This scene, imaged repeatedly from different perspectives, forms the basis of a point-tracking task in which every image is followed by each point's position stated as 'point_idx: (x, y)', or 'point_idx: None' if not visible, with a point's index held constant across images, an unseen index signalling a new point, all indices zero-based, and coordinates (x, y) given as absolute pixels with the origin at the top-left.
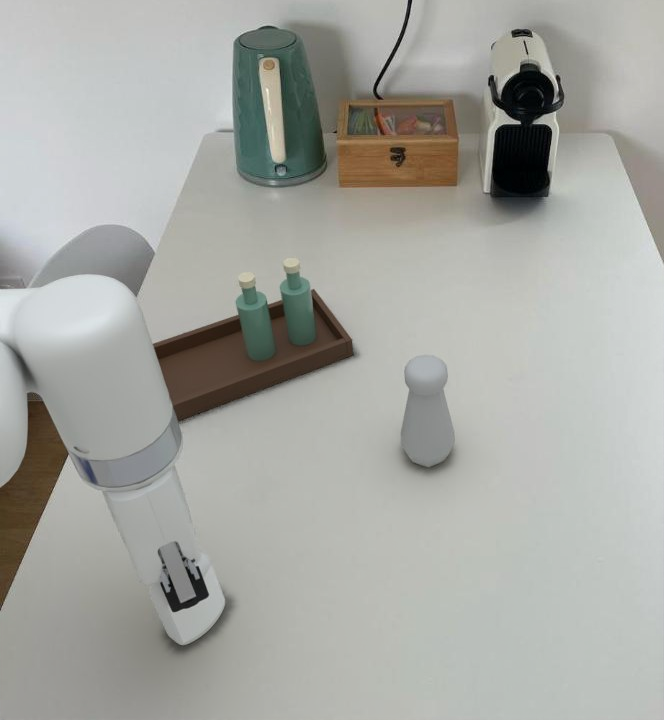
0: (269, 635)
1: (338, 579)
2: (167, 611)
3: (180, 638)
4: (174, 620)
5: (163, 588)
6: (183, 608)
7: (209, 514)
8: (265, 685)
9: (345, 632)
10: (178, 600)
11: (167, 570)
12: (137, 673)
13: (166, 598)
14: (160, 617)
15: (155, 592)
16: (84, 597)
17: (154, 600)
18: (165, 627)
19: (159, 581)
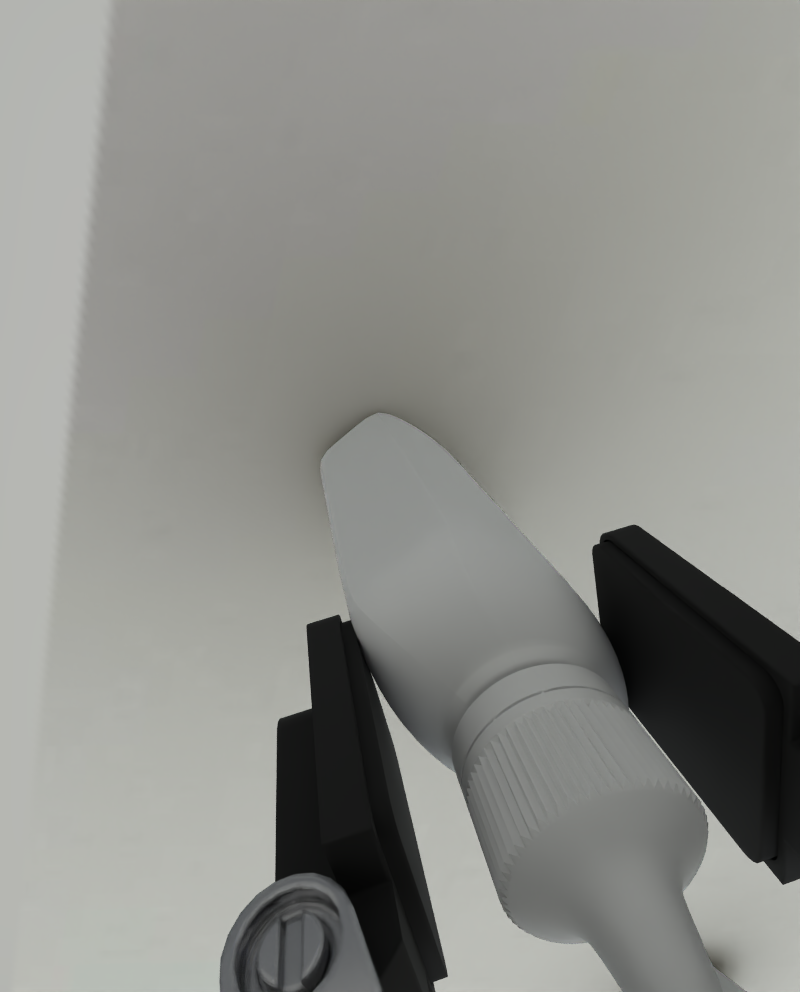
0: (300, 698)
1: (422, 844)
2: (340, 569)
3: (323, 481)
4: (333, 541)
5: (324, 825)
6: (280, 720)
7: (765, 536)
8: (136, 690)
9: (264, 862)
10: (279, 786)
11: (493, 786)
12: (251, 292)
13: (313, 720)
14: (382, 461)
15: (422, 583)
16: (641, 71)
17: (399, 539)
18: (369, 441)
19: (479, 622)
